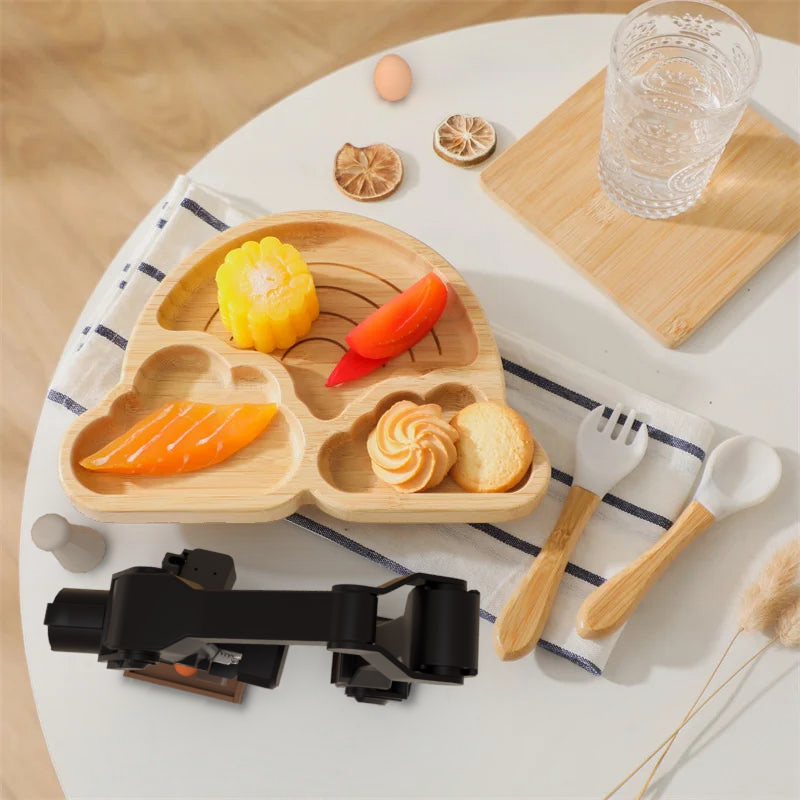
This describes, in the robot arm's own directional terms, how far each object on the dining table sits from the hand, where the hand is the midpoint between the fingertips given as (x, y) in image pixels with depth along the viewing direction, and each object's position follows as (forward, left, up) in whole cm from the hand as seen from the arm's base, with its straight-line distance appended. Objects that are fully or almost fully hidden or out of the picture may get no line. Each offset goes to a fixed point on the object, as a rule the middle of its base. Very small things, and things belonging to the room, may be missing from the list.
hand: (215, 647), depth 100 cm
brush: (0, 0, -4) cm, 4 cm away
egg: (0, -85, -10) cm, 86 cm away
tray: (+5, 0, -10) cm, 11 cm away
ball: (+5, +2, -8) cm, 9 cm away
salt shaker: (+22, -8, -10) cm, 25 cm away
